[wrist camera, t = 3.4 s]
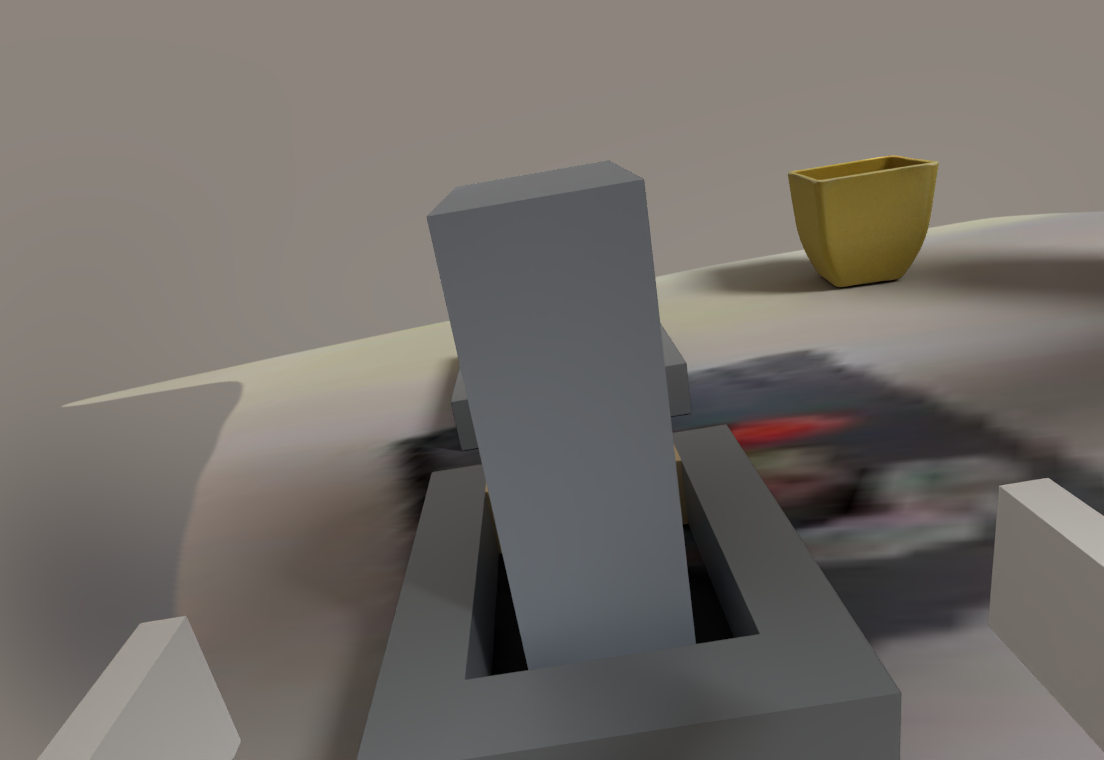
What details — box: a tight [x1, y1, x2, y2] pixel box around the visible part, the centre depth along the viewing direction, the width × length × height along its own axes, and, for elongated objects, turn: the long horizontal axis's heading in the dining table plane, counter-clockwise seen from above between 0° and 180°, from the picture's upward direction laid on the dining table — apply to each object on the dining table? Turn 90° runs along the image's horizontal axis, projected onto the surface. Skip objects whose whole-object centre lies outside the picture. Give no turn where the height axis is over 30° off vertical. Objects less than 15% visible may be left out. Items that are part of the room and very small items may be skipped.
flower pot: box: [788, 156, 939, 287], centre depth 56 cm, size 9×9×9 cm
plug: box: [427, 161, 696, 670], centre depth 22 cm, size 5×8×15 cm, turn 2°
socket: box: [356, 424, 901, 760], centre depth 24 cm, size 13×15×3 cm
